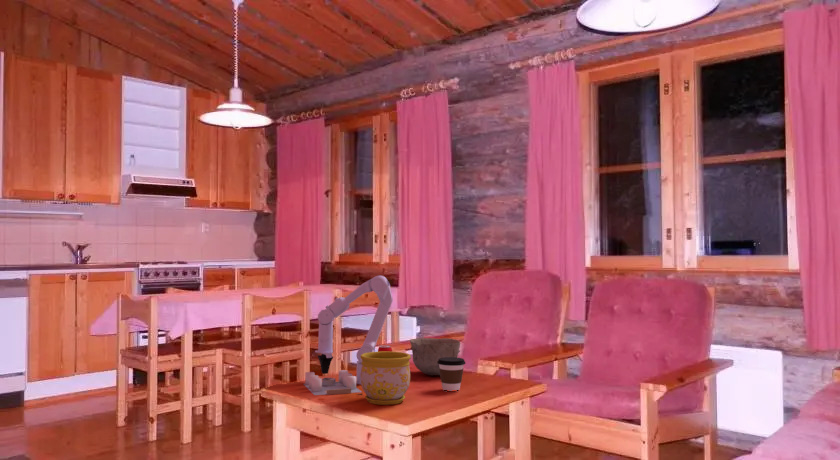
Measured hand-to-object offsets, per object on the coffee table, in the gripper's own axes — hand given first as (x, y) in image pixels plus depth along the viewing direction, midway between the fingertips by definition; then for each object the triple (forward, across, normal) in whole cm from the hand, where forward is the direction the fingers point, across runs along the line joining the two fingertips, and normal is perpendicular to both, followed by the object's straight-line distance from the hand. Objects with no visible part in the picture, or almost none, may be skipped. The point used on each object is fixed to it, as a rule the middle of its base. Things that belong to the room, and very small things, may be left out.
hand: (324, 373), depth 265 cm
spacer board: (+4, +12, 0) cm, 13 cm away
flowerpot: (+4, +36, +14) cm, 38 cm away
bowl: (+4, -6, +50) cm, 51 cm away
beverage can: (+4, -16, +30) cm, 34 cm away
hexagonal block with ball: (+3, +7, 0) cm, 8 cm away
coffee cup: (+4, +26, +44) cm, 51 cm away
